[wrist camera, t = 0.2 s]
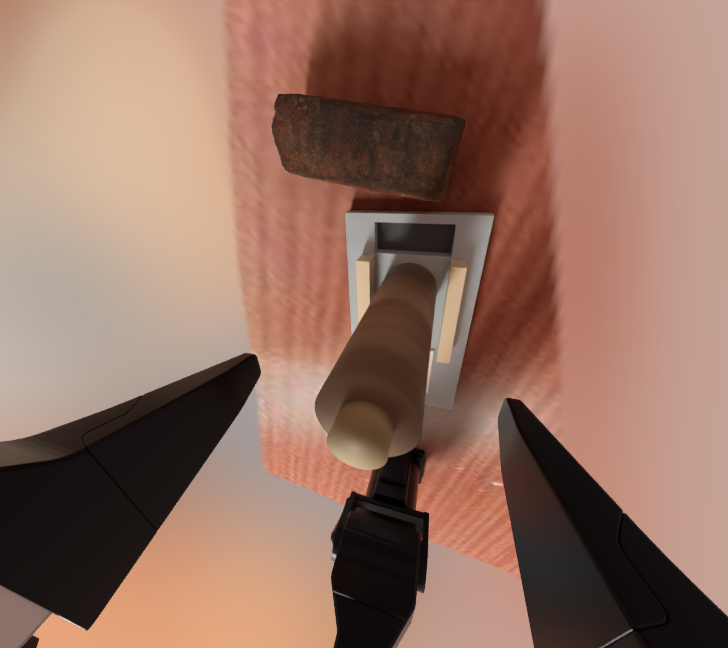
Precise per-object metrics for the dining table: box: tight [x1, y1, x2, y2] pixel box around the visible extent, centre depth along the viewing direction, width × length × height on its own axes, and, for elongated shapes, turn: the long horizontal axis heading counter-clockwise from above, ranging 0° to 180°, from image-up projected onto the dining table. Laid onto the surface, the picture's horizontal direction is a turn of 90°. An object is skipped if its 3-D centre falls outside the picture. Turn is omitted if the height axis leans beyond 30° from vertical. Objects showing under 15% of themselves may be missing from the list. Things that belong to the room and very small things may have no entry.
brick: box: [272, 93, 465, 202], centre depth 16 cm, size 11×4×5 cm, turn 81°
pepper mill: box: [315, 263, 437, 470], centre depth 15 cm, size 4×4×14 cm
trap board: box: [345, 210, 494, 411], centre depth 22 cm, size 18×10×3 cm, turn 1°
